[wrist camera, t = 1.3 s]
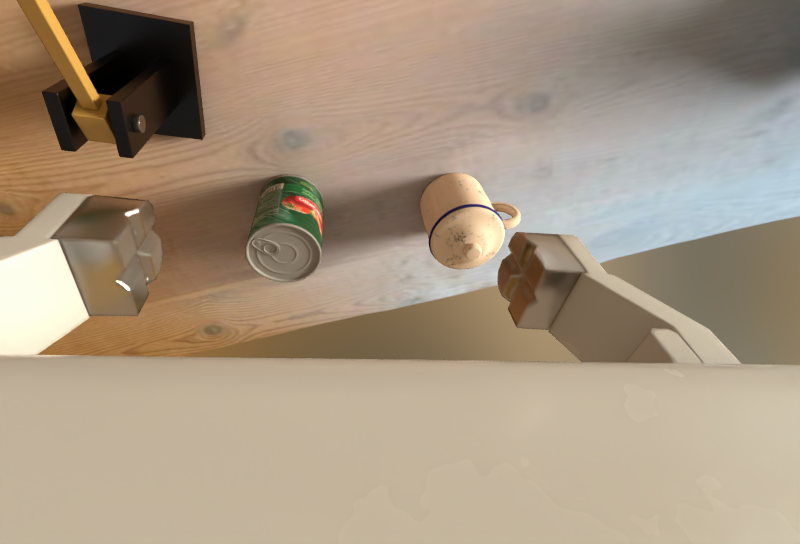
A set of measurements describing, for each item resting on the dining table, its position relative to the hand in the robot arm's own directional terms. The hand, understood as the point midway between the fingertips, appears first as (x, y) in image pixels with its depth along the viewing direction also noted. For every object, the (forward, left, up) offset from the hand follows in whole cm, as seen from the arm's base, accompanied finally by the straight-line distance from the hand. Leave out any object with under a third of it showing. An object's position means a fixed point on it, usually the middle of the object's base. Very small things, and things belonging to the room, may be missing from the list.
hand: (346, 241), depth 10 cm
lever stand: (+9, -18, -39) cm, 44 cm away
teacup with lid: (+19, +18, -39) cm, 48 cm away
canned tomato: (+22, -4, -39) cm, 45 cm away
